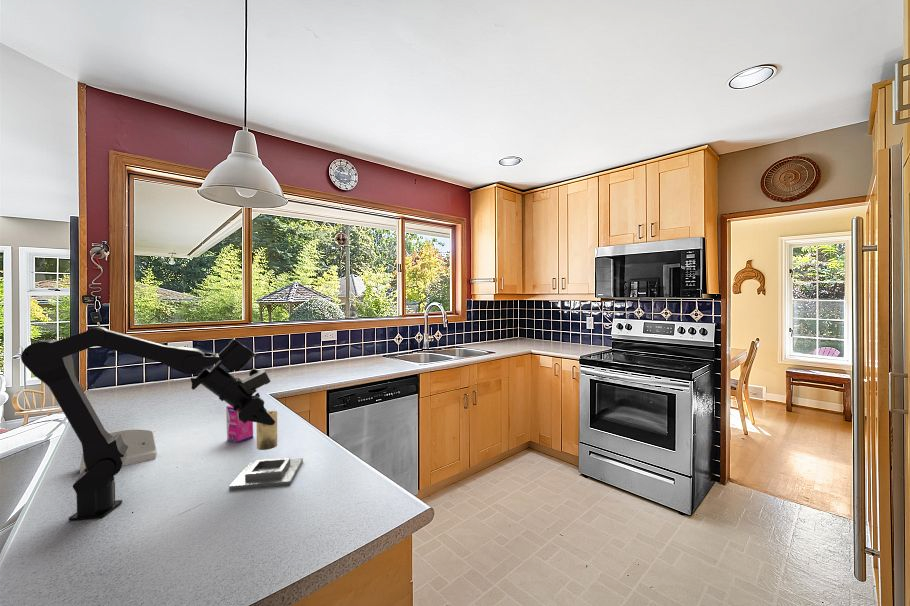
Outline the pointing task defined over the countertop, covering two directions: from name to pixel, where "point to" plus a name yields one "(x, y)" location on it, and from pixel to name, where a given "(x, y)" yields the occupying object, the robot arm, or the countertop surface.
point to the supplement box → (237, 427)
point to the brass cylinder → (267, 433)
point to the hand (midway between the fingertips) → (272, 421)
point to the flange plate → (267, 473)
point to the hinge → (135, 446)
